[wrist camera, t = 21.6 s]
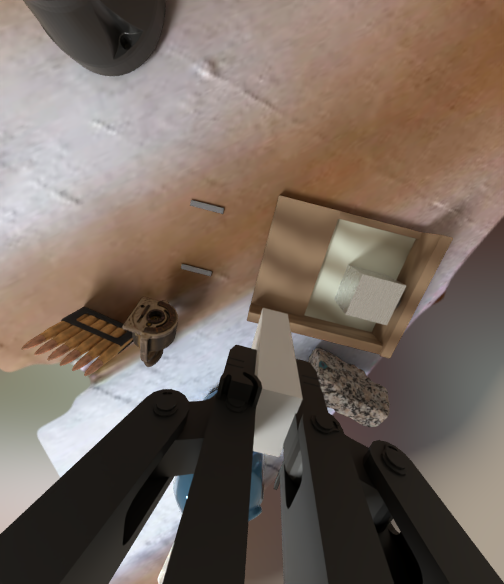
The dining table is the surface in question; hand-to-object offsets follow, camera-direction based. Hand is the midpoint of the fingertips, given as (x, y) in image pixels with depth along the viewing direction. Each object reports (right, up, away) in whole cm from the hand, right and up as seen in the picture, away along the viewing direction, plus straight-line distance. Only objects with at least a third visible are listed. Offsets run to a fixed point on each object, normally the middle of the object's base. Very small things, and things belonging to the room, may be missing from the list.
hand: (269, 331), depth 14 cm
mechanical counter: (-16, -3, +28) cm, 33 cm away
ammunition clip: (-27, -3, +29) cm, 40 cm away
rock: (+14, -11, +29) cm, 34 cm away
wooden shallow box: (+12, +5, +23) cm, 26 cm away
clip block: (+13, +3, +21) cm, 24 cm away
